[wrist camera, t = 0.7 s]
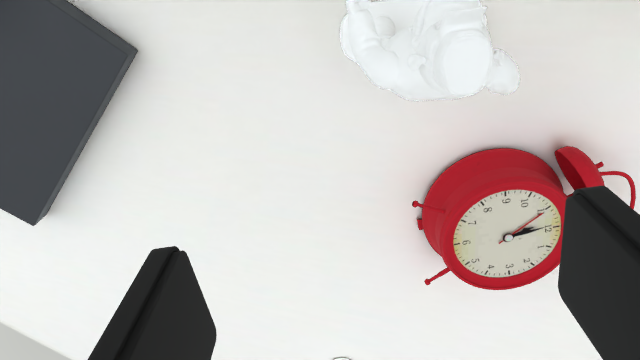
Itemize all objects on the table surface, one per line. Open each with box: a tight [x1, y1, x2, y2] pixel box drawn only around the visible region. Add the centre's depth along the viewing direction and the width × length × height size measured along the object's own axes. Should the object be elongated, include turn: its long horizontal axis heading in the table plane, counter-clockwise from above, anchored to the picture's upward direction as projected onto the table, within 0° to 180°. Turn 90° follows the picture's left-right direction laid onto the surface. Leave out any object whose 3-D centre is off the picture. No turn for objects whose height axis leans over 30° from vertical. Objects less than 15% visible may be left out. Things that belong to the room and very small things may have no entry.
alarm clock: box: [412, 146, 636, 290], centre depth 32 cm, size 10×6×15 cm
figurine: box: [340, 0, 520, 101], centre depth 22 cm, size 9×7×12 cm
